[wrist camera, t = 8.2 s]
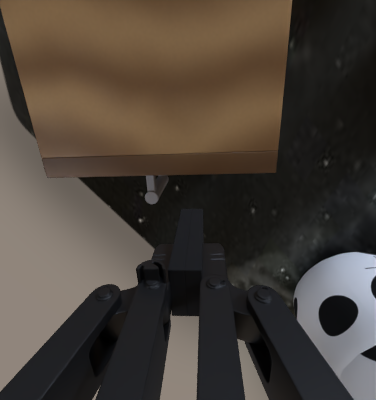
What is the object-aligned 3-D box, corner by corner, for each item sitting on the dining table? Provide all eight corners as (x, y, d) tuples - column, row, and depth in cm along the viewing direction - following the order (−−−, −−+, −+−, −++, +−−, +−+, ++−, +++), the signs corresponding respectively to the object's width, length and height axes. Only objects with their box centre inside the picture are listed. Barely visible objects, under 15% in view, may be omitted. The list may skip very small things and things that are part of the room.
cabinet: (85, 36, 28) (-7, -18, 16) (255, 23, 26) (297, -49, 14) (105, 152, 33) (46, 178, 21) (249, 147, 31) (275, 173, 19)
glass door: (109, 142, 31) (65, 157, 22) (178, 139, 30) (165, 154, 21) (115, 181, 33) (78, 211, 24) (180, 179, 32) (169, 210, 23)
